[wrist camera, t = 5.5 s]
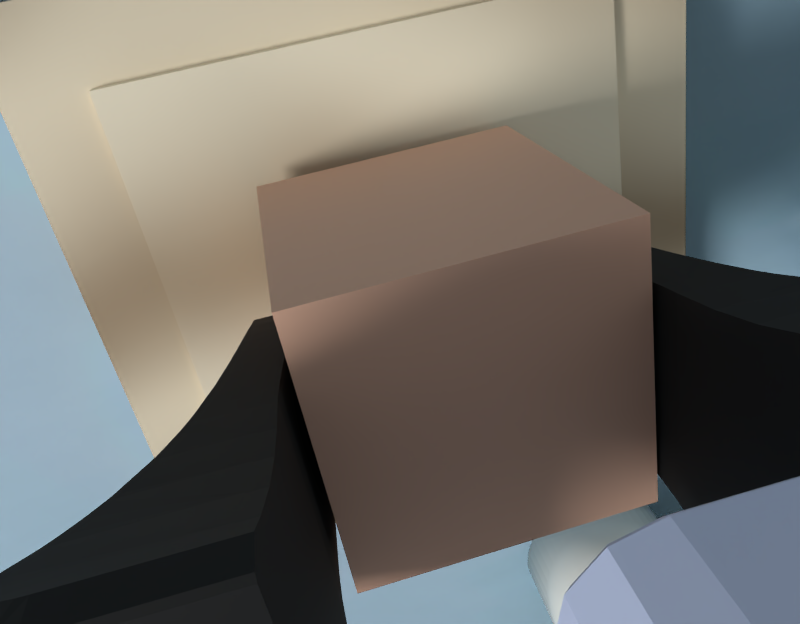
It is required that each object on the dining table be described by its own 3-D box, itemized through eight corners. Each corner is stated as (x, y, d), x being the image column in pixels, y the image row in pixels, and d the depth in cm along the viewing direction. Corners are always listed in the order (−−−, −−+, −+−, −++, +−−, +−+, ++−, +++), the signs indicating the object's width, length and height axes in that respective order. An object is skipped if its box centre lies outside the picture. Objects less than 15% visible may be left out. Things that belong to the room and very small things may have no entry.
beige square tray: (654, 391, 19) (690, 430, 18) (203, 516, 18) (199, 569, 17) (642, -135, 14) (694, -145, 12) (-14, 5, 13) (-50, 13, 11)
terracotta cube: (532, 341, 15) (658, 501, 11) (318, 400, 15) (357, 593, 10) (506, 125, 13) (650, 213, 9) (256, 186, 12) (271, 312, 8)
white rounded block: (657, 573, 23) (734, 690, 19) (534, 611, 22) (589, 736, 19) (654, 476, 21) (739, 584, 17) (520, 515, 20) (579, 633, 17)
